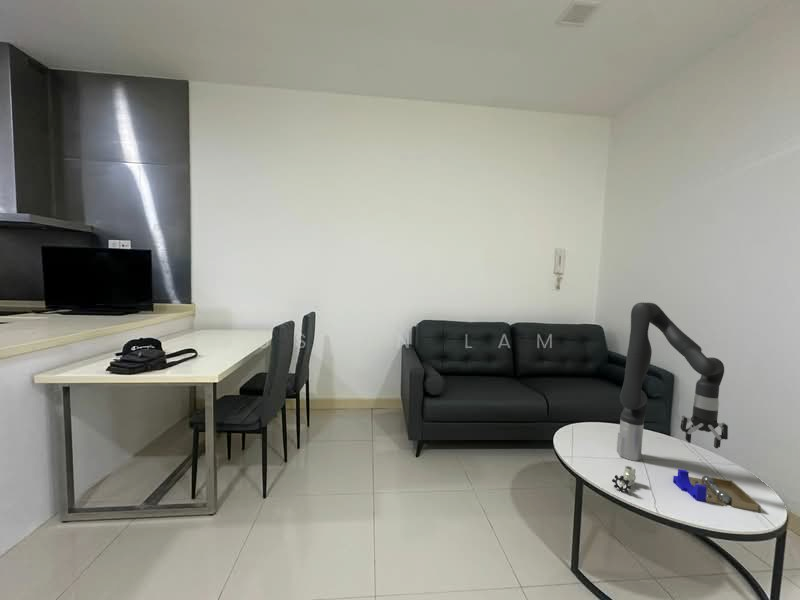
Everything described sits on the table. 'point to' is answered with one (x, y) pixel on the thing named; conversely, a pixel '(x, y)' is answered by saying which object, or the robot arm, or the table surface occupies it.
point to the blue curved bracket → (690, 486)
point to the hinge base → (725, 493)
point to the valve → (625, 479)
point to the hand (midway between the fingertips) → (702, 444)
